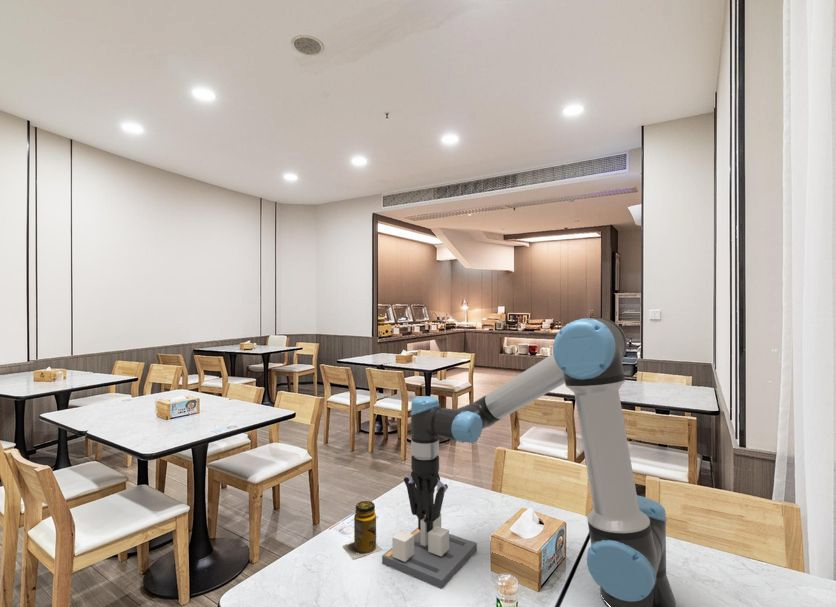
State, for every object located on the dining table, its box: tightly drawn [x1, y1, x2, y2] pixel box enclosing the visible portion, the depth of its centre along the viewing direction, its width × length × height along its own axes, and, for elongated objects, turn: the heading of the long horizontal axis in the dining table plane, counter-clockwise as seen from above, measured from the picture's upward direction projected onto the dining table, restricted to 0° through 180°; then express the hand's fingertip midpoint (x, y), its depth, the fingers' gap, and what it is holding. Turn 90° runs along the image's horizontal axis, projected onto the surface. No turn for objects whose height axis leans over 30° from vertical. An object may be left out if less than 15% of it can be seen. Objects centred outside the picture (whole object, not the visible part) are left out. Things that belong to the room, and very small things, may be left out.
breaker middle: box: [428, 526, 450, 557], centre depth 112 cm, size 4×4×5 cm
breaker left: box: [391, 530, 414, 562], centre depth 110 cm, size 4×4×5 cm
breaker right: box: [433, 512, 442, 528], centre depth 121 cm, size 4×4×5 cm
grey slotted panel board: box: [381, 527, 478, 590], centre depth 113 cm, size 18×19×2 cm
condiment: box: [342, 500, 382, 560], centre depth 117 cm, size 7×8×12 cm
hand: (425, 542), depth 114 cm, fingers closed
